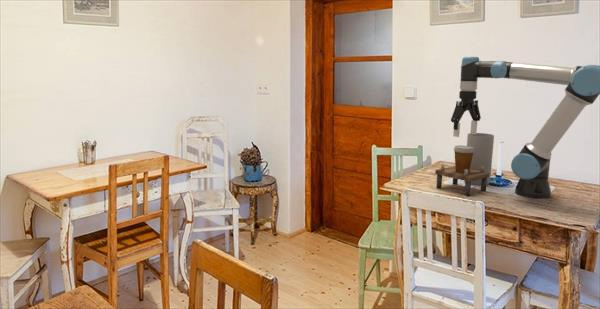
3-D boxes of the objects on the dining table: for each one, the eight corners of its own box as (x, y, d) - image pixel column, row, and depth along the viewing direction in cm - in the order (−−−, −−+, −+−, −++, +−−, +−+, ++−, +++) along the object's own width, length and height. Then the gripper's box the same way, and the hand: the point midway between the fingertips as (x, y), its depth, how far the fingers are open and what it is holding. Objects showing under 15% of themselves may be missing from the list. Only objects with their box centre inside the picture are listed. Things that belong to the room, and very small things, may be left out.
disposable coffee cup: (475, 173, 224) (477, 148, 221) (455, 173, 224) (457, 148, 222) (469, 169, 233) (471, 145, 231) (449, 169, 233) (451, 145, 231)
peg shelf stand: (487, 191, 227) (490, 166, 225) (468, 196, 218) (470, 171, 216) (454, 183, 242) (455, 160, 240) (434, 187, 233) (435, 163, 231)
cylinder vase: (462, 184, 241) (465, 135, 236) (466, 178, 251) (469, 132, 247) (488, 187, 235) (492, 137, 230) (491, 181, 246) (495, 134, 241)
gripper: (476, 89, 231) (473, 132, 235) (444, 90, 217) (441, 136, 221) (490, 90, 225) (487, 134, 230) (458, 91, 211) (455, 138, 215)
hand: (464, 135), depth 225 cm, fingers open, 13 cm apart
